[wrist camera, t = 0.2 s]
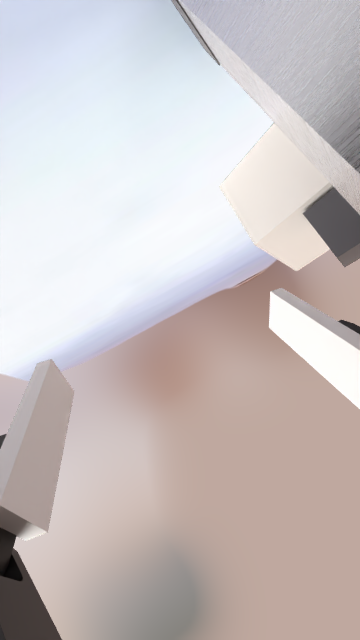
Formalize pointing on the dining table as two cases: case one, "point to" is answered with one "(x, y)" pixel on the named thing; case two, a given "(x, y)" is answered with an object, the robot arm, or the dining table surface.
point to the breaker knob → (337, 226)
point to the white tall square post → (294, 72)
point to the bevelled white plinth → (278, 199)
